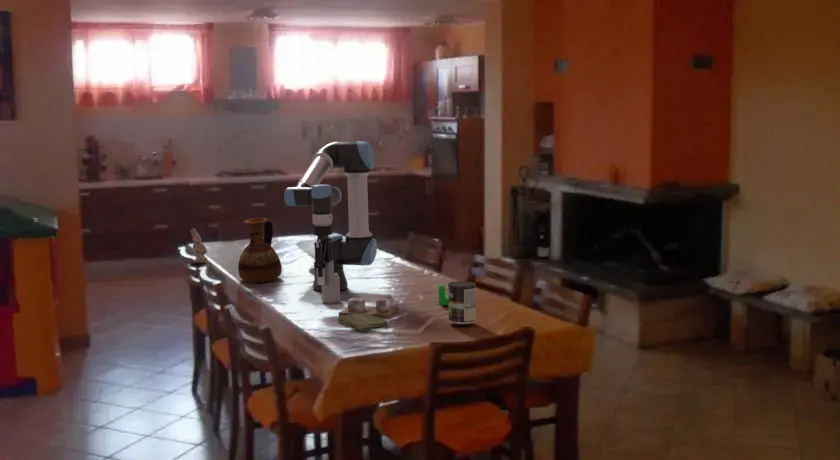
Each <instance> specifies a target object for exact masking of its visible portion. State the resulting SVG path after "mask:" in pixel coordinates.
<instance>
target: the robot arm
mask: <svg viewBox="0 0 840 460" xmlns="http://www.w3.org/2000/svg"><path fill="white" fill-rule="evenodd" d="M375 159H376V158H375V151H374V149H373V147H372V144H371V143H370V142H368V141H362V140H361V141H360V140H355V141H354V140H353V141H349V140H347V141H339V140H338V141H337V140H336V141H332V142H329V143H327V144H325V145H323V146H322V147H320V148H319V149H318V150H317V151H316V152H315V153H314V155H313V156H312V158H311V163H310V164H309V166H308V167H307V169H306V170H305V172H303V175H302V176H301V177H300V178H299V181H298V182H297V184H295V186H291V187H289V186H288V187H286V189H285V190H284V194H283V198H284V202H285V204H286V206H289V207H312V209H311V210H312V215H311V216H312V218H311V219H312V224H313V225H312V235H314V236H317V238H316V241H315V242H314V243H313V244H314V262H315V269H317V273H318V285H315V284H314V282H313V284H312V285H313V286H312V288H313V289H314V290H315V291H322V285H325V268H324V260H334V273H338V276H339V277H340V291H341V290H346V289H348V280H347V278H346V274H345V271H344V266H361V267H363V266H370V265H372V264H373V263H374V261H375V260H376V256H377V252H378V242H377V239H375V238H373V233H371V231H370V228H369V200H368V199H369V198H368V197H369V194H368V176H369V175H370V173H371V171H372V169H373V168H374V167H375V162H376V160H375ZM333 169H343V174H344V175H345V176H346V177H347V179H346V180H347V201H348V202H347V203H348V205H347V208H348V209H347V210H348V232H347V233H346V234H345V238H344V236H343V235H342V234H334V235H333V225H332V223H333V219H334V216H333V213H332V212H333V209H332V208H333V207H335V206H337V205H338V204H339V203H340V202H341V200H342V197H343V195H342V191H341V190H340V188H338V187H336V186H331V185H330V184H328V183H327V184H325V183H324V184H321V182H322V181H323V179H324V177H325V176H326V175H327V173H329V172H331V170H333Z"/></svg>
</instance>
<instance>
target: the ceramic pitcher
mask: <svg viewBox="0 0 840 460" xmlns="http://www.w3.org/2000/svg"><path fill="white" fill-rule="evenodd" d="M243 223H244V224H245V225H246V226H247V227H248V229H249V234H250V239H249V244H247V246H245V247H244V249H243V250H242V252H241V254H240V257H239V260H238V265H237V266H238V267H237V271H238V272H237V273H238V276H239V277H240V279H241V280H243V281H245V282H247V281H248V283H252V282H260V283H266V282H270V281H273V280H275V279H277V278H279V277H280V276H281V275H282V268H283V267H282V263H281V260H280V258H279V255H278V253H277V252H276V251H275V249H274V248H273V247H272V242H273V236H274V235H273V233H274V226H273V223H272V222H271V220H270V219H268V218H267V217H262V216H261V217H253V218H249V219H245V220H243ZM265 281H266V282H265Z"/></svg>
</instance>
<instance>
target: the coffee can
mask: <svg viewBox="0 0 840 460" xmlns="http://www.w3.org/2000/svg"><path fill="white" fill-rule="evenodd" d="M447 286H448V289H447V291H448V295H449V305H448V322H449V323H451V324H454V325H469V324H475V322H477V320H476V315H477V313H476V309H477V307H476V303H477V302H476V296H477V295H476V294H477V293H476V290H477V289H476V288H477V284H476V282H473V281H467V280H466V281H465V280H464V281H463V280H462V281H461V280H460V281H459V280H458V281H453V282H449V283H448V284H447Z"/></svg>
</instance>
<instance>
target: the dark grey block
mask: <svg viewBox="0 0 840 460" xmlns="http://www.w3.org/2000/svg"><path fill="white" fill-rule="evenodd" d="M324 268H325V285H323V286H330V285H331V284H333V283H334V260H324ZM313 275H314V276H313V279H314V280H313V283H314V284H315V285H318V273H317V269H315V261H313Z"/></svg>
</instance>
